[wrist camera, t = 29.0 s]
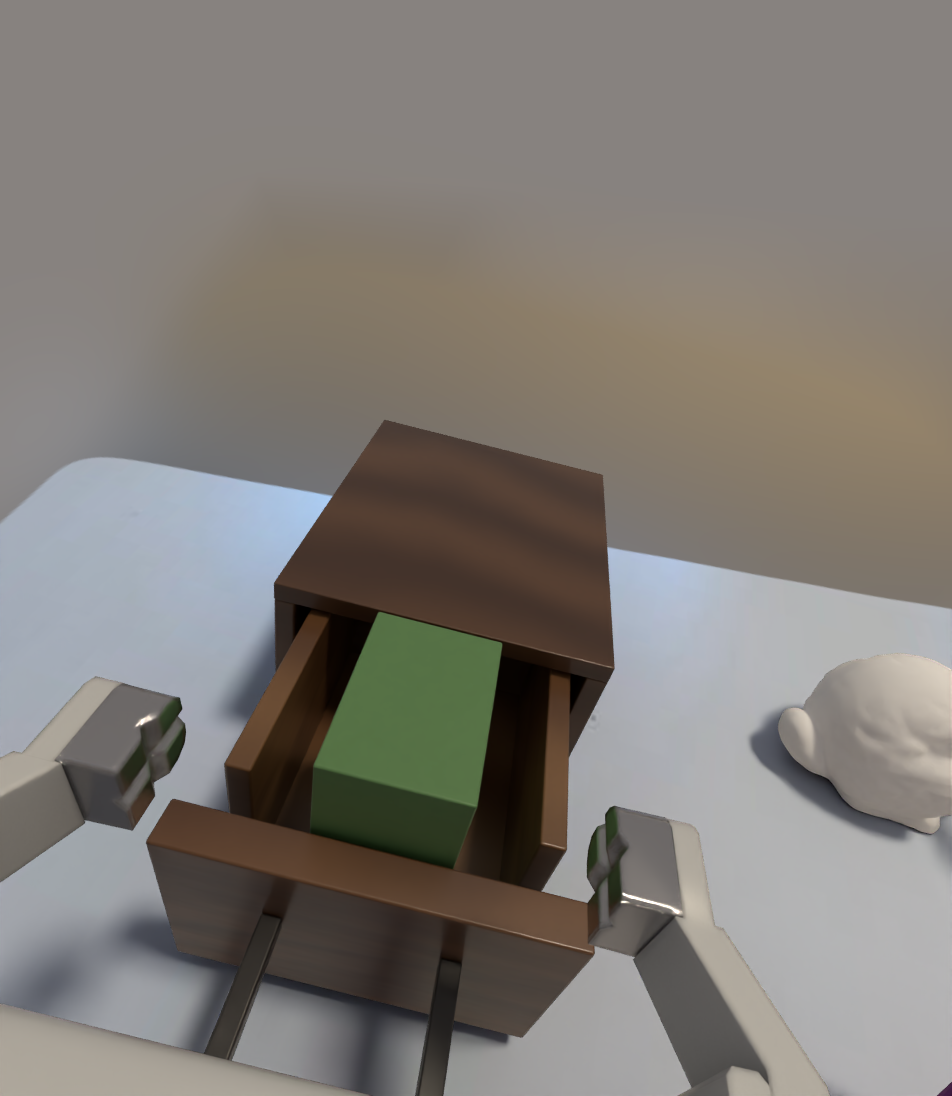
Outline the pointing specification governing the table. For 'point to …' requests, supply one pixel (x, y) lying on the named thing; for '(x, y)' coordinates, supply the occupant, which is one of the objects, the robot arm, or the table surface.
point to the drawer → (380, 866)
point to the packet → (408, 742)
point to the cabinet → (464, 554)
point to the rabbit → (880, 737)
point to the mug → (946, 1091)
